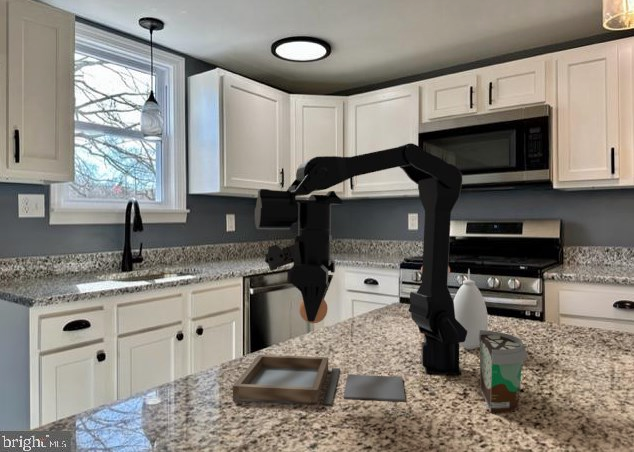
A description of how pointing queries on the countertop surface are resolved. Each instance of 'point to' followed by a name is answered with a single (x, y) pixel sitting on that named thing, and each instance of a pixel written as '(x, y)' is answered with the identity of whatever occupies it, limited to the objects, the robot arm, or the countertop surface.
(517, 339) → the food container
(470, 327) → the sauce bottle
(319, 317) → the ball
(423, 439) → the countertop surface
